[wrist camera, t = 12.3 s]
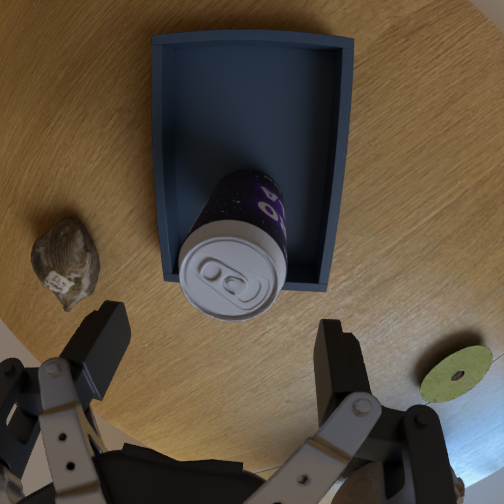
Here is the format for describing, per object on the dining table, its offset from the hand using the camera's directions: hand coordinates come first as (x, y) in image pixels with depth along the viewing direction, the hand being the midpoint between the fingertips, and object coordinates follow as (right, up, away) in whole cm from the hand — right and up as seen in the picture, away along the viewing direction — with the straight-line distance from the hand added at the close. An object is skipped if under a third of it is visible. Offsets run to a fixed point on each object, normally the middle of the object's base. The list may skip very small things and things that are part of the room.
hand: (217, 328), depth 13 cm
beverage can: (+1, +7, +14) cm, 15 cm away
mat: (+28, -12, +22) cm, 38 cm away
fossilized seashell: (-17, +3, +18) cm, 25 cm away
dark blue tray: (+1, +11, +12) cm, 16 cm away
